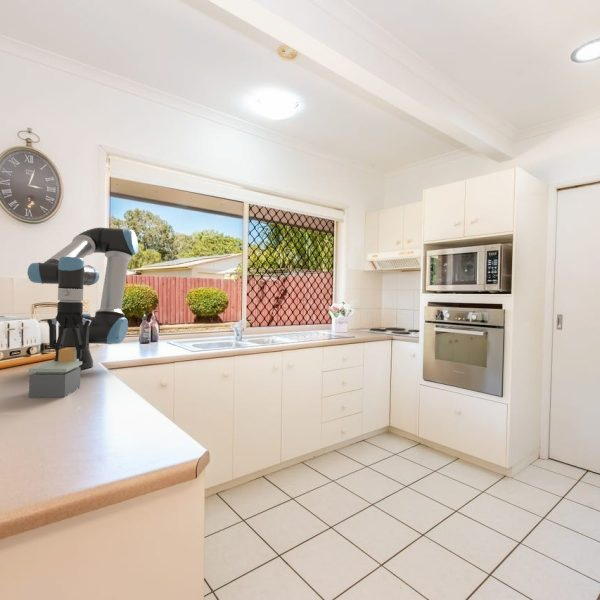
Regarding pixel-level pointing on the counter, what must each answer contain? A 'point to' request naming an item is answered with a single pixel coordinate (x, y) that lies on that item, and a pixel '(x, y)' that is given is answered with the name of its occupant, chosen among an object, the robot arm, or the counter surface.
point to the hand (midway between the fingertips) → (68, 368)
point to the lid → (58, 363)
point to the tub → (54, 383)
